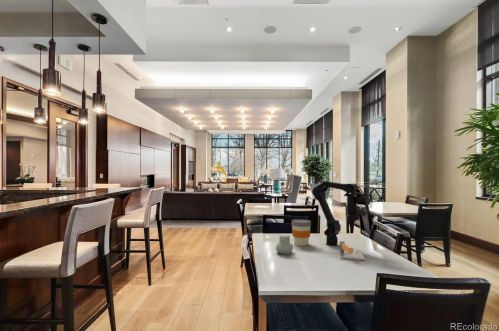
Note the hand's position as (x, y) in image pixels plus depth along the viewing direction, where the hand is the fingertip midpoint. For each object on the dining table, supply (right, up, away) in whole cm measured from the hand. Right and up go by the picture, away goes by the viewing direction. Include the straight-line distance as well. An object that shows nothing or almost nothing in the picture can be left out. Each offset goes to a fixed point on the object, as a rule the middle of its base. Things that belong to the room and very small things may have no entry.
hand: (351, 229), depth 173 cm
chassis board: (-5, -12, -12) cm, 18 cm away
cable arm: (-9, -8, -16) cm, 20 cm away
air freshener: (-43, -12, -10) cm, 45 cm away
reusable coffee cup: (-29, -12, +11) cm, 33 cm away
